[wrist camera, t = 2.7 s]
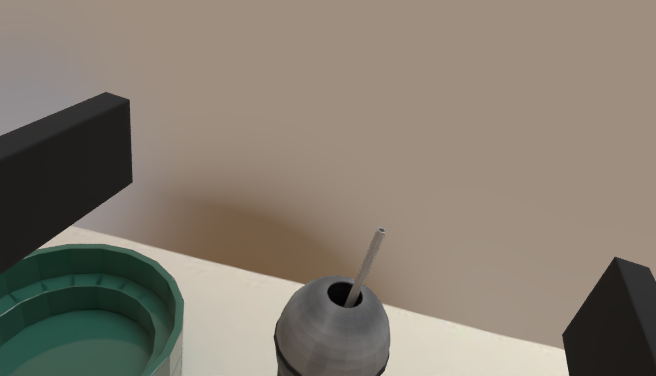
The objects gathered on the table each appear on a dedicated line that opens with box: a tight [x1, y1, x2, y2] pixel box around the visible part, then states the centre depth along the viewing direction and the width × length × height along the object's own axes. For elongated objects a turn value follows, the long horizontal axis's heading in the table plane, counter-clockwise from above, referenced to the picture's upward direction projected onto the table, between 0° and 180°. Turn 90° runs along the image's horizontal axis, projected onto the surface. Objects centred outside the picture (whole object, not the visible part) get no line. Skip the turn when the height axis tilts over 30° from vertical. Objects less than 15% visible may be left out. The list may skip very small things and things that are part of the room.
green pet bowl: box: [0, 244, 184, 376], centre depth 34 cm, size 16×16×6 cm
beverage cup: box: [274, 227, 390, 376], centre depth 30 cm, size 7×7×20 cm
